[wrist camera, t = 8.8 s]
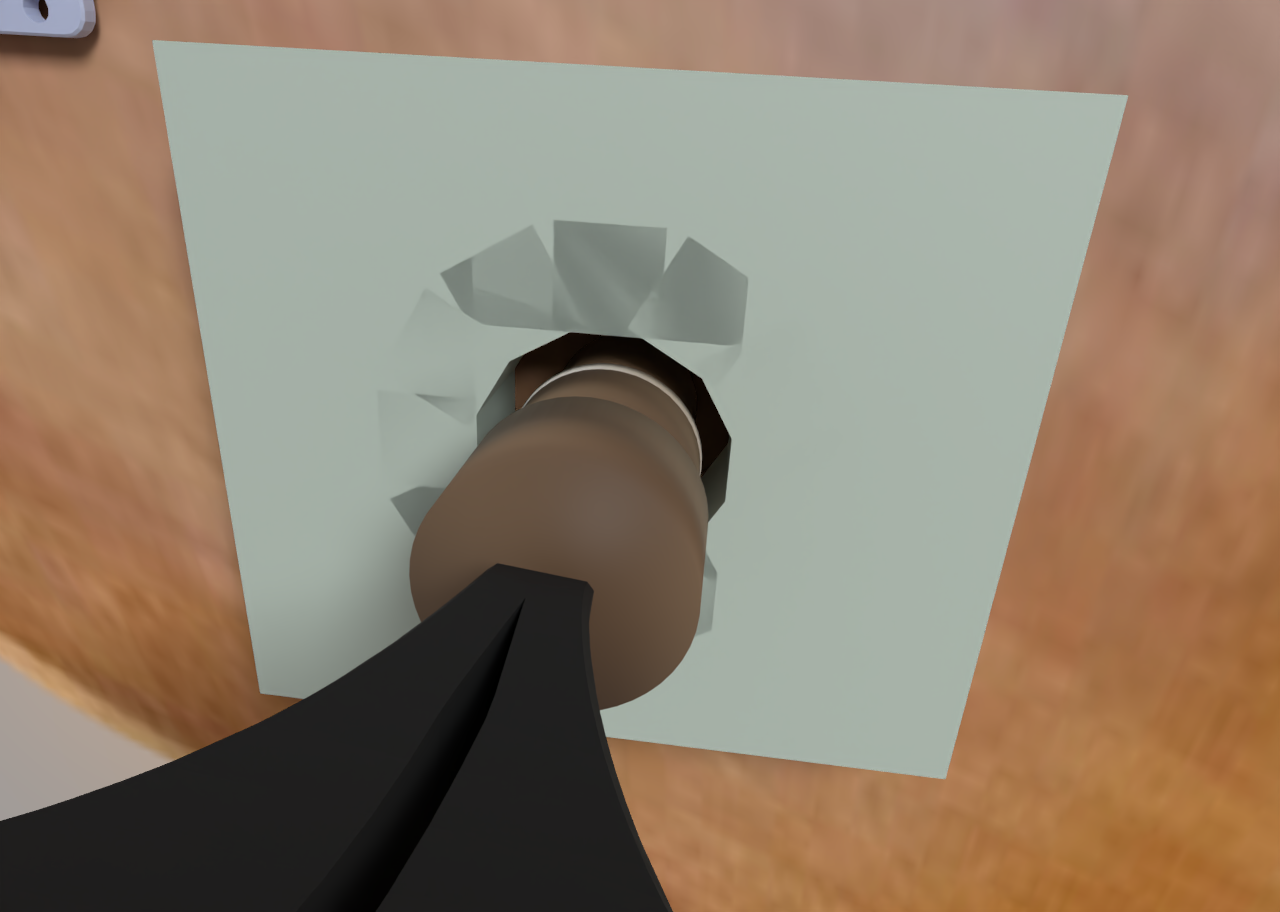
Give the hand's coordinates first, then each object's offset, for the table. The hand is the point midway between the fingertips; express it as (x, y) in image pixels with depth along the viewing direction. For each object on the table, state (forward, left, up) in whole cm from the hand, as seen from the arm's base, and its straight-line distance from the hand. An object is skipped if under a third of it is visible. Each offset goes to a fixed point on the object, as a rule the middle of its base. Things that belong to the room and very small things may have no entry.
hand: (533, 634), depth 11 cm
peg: (0, 0, -9) cm, 9 cm away
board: (0, 0, -9) cm, 9 cm away
